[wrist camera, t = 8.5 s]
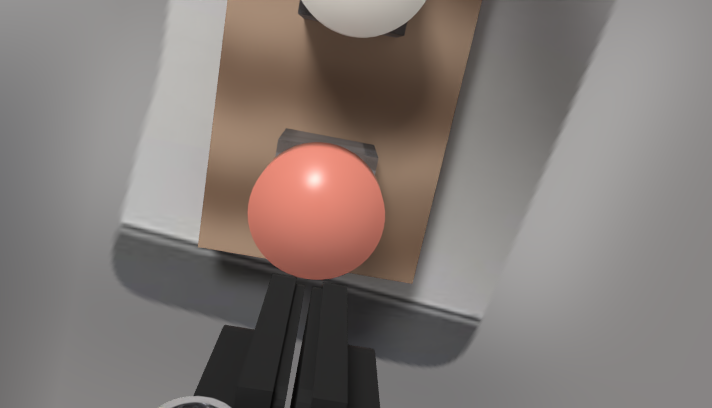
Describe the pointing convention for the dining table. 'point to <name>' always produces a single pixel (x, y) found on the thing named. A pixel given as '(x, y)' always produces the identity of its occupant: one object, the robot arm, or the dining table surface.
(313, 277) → the red button
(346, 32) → the cream button
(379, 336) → the dining table surface
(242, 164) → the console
